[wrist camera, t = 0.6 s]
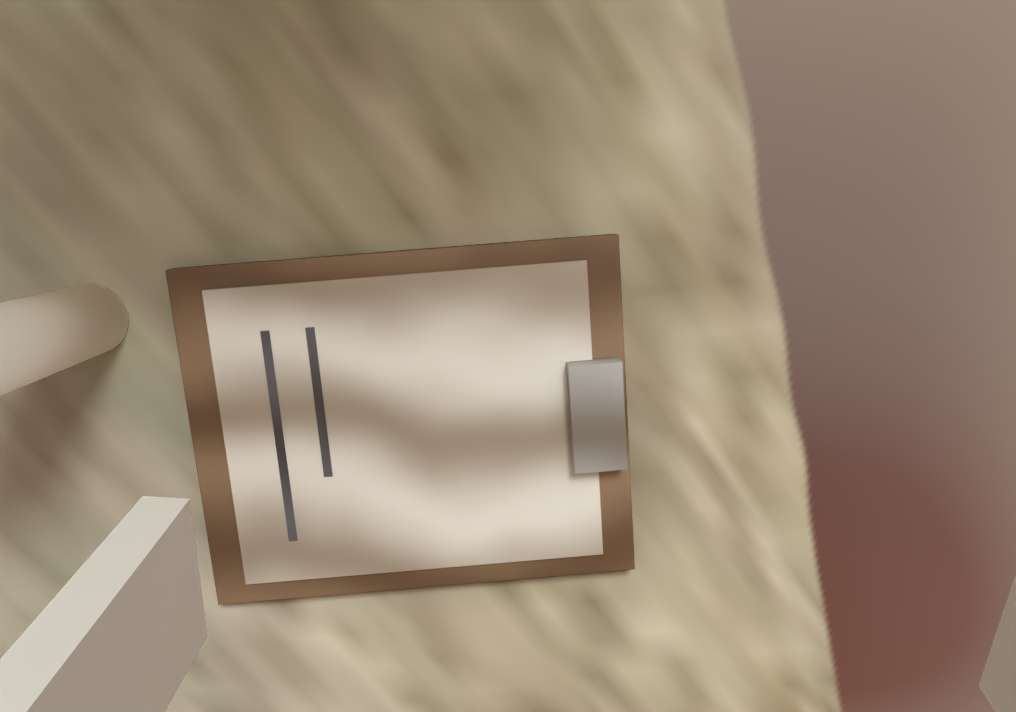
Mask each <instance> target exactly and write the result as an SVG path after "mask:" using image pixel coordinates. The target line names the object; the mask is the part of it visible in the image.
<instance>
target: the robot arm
mask: <svg viewBox="0 0 1016 712" xmlns="http://www.w3.org/2000/svg"><path fill="white" fill-rule="evenodd" d="M206 637H207V631H206V623H205V615H204V607H203V599H202V591H201V583H200V575H199V567H198V559H197V551H196V543H195V535H194V527H193V519H192V511H191V503H190V499H187V498H170V497H153V496H142V497H141V498H140V500H139V501H138V502H137V503H136V504H135V505H134V506H133V508H132V509H131V510H130V511H129V512H128V513H127V515H126V516H125V517H124V518H123V519H122V520H121V521H120V523H119V524H118V525H117V526H116V527H115V528H114V529H113V531H112V532H111V533H110V534H109V535H108V536H107V537H106V539H105V540H104V541H103V542H102V543H101V544H100V545H99V547H98V548H97V549H96V550H95V551H94V552H93V553H92V555H91V556H90V557H89V558H88V559H87V560H86V561H85V563H84V564H83V565H82V566H81V567H80V568H79V569H78V571H77V572H76V573H75V574H74V575H73V576H72V577H71V579H70V580H69V581H68V582H67V583H66V584H65V586H64V587H63V588H62V589H61V590H60V591H59V592H58V594H57V595H56V596H55V597H54V598H53V599H52V600H51V602H50V603H49V604H48V605H47V606H46V607H45V608H44V610H43V611H42V612H41V613H40V614H39V615H38V616H37V618H36V619H35V620H34V621H33V622H32V623H31V624H30V626H29V627H28V628H27V629H26V630H25V631H24V632H23V634H22V635H21V636H20V637H19V638H18V639H17V640H16V642H15V643H14V644H13V645H12V646H11V647H10V648H9V650H8V651H7V652H6V653H5V654H4V655H3V657H2V658H1V659H0V712H165V710H166V708H167V706H168V705H169V703H170V701H171V699H172V698H173V696H174V694H175V692H176V691H177V689H178V687H179V685H180V683H181V682H182V680H183V678H184V676H185V675H186V673H187V671H188V669H189V667H190V666H191V664H192V662H193V660H194V659H195V657H196V655H197V653H198V652H199V650H200V648H201V646H202V644H203V643H204V641H205V639H206ZM979 687H980V689H981V690H982V692H983V693H984V695H985V696H986V698H987V699H988V701H989V702H990V703H991V705H992V707H993V708H994V710H995V711H996V712H1016V575H1015V578H1014V581H1013V584H1012V587H1011V590H1010V593H1009V596H1008V599H1007V602H1006V605H1005V608H1004V611H1003V614H1002V617H1001V620H1000V623H999V626H998V629H997V632H996V635H995V638H994V641H993V644H992V647H991V650H990V653H989V656H988V660H987V662H986V665H985V668H984V671H983V675H982V677H981V681H980V684H979Z"/></svg>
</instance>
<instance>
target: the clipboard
mask: <svg viewBox="0 0 1016 712" xmlns="http://www.w3.org/2000/svg"><path fill="white" fill-rule="evenodd" d="M166 276H167V283H168V289H169V295H170V301H171V308H172V314H173V320H174V327H175V333H176V339H177V346H178V352H179V358H180V365H181V371H182V377H183V384H184V390H185V396H186V403H187V409H188V415H189V422H190V428H191V434H192V440H193V447H194V453H195V459H196V466H197V472H198V478H199V485H200V491H201V497H202V504H203V510H204V516H205V523H206V529H207V535H208V542H209V548H210V554H211V561H212V567H213V573H214V579H215V586H216V592H217V598H218V605H220V604H232V603H243V602H255V601H267V600H279V599H290V598H302V597H314V596H326V595H337V594H349V593H361V592H373V591H384V590H396V589H408V588H420V587H431V586H443V585H455V584H467V583H478V582H490V581H502V580H514V579H525V578H537V577H549V576H561V575H572V574H584V573H596V572H608V571H620V570H631V569H635V565H634V544H633V523H632V502H631V482H630V461H629V440H628V419H627V398H626V377H625V356H624V336H623V315H622V294H621V273H620V252H619V235H618V234H606V235H593V236H580V237H567V238H554V239H541V240H529V241H516V242H503V243H490V244H477V245H464V246H452V247H439V248H426V249H413V250H400V251H387V252H374V253H362V254H349V255H336V256H323V257H310V258H297V259H285V260H272V261H259V262H246V263H233V264H220V265H207V266H195V267H182V268H172V269H168V270H166Z"/></svg>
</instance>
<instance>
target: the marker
mask: <svg viewBox="0 0 1016 712" xmlns="http://www.w3.org/2000/svg"><path fill="white" fill-rule="evenodd" d="M128 322H129V320H128V314H127V310H126V308H125V306H124V304H123V302H122V301H121V299H120V298H119V297H118V296H117V295H116V294H115V293H114V292H112V291H111V290H110V289H108V288H106V287H103V286H101V285H97V284H82V285H78V286H73V287H69V288H64V289H60V290H55V291H51V292H46V293H42V294H37V295H33V296H28V297H24V298H19V299H15V300H10V301H6V302H1V303H0V396H2V395H4V394H7V393H9V392H11V391H14V390H16V389H19V388H21V387H23V386H26V385H28V384H31V383H33V382H35V381H38V380H40V379H43V378H45V377H47V376H50V375H52V374H55V373H57V372H59V371H62V370H64V369H67V368H69V367H71V366H74V365H76V364H79V363H81V362H83V361H86V360H88V359H91V358H93V357H95V356H98V355H100V354H103V353H105V352H107V351H110V350H112V349H114V348H115V347H117V346H118V345H119V344H120V343H121V342H122V340H123V339H124V337H125V335H126V333H127V330H128Z"/></svg>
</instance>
